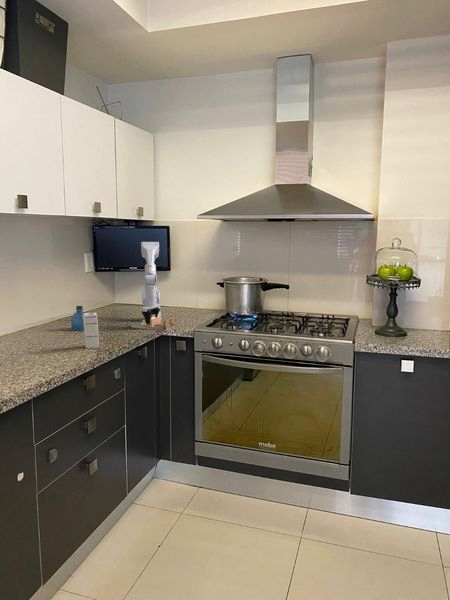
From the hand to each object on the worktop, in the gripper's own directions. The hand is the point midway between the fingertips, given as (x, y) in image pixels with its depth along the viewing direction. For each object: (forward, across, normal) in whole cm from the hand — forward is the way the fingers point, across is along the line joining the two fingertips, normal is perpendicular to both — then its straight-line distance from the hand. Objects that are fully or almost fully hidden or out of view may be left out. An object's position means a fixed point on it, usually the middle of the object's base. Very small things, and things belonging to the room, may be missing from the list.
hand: (151, 322), depth 239 cm
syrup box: (+2, +46, -4) cm, 46 cm away
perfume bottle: (+2, +19, -30) cm, 36 cm away
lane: (+2, 0, +2) cm, 2 cm away
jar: (+2, 0, -1) cm, 2 cm away
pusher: (+2, 0, +4) cm, 4 cm away
